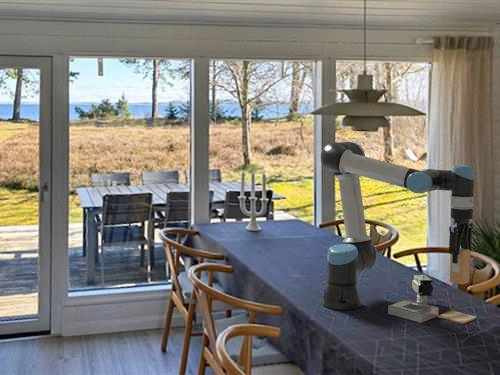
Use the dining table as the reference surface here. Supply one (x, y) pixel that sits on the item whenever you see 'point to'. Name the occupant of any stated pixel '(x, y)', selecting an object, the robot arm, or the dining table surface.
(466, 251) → the light wood tall block
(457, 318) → the pad
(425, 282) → the pneumatic valve
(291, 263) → the dining table surface
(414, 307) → the grey flat block
